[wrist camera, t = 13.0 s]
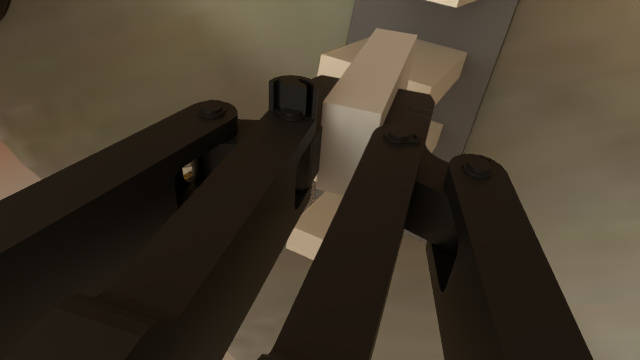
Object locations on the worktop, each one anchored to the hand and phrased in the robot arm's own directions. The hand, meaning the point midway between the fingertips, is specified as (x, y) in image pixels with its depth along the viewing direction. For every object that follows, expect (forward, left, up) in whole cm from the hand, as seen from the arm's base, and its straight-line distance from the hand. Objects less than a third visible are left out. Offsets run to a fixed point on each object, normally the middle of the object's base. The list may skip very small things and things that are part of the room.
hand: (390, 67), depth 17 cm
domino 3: (-2, -3, -18) cm, 18 cm away
